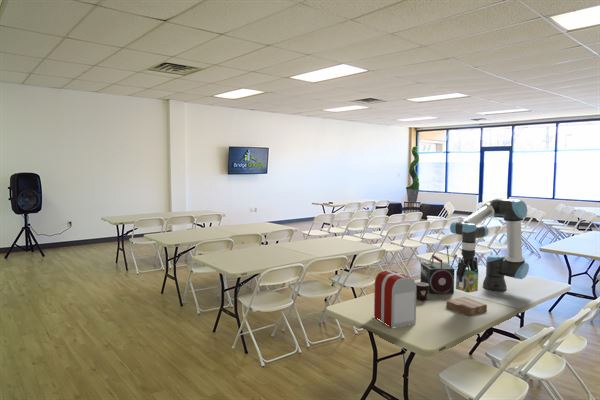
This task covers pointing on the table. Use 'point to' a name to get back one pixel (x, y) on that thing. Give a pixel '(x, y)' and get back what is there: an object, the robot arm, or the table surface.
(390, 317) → the red white striped case
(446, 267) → the boombox
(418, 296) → the coffee mug
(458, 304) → the walnut base
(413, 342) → the table surface
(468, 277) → the chalk box
